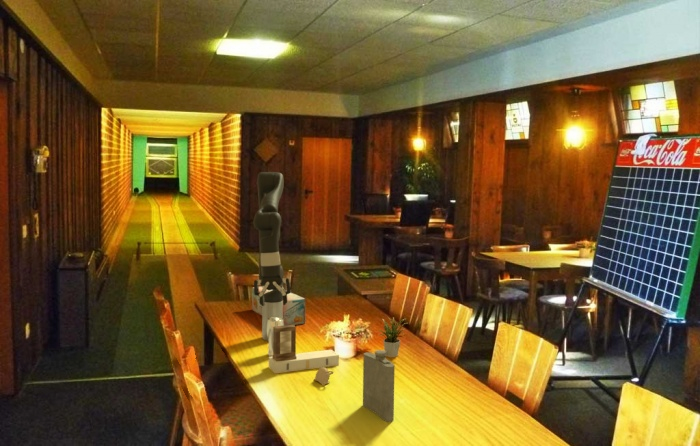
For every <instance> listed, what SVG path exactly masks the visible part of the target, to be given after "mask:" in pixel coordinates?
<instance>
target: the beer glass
mask: <svg viewBox="0 0 700 446" xmlns="http://www.w3.org/2000/svg"><path fill="white" fill-rule="evenodd" d="M274 326H284V322H283V318H281V317H271V318H268V319H267V337H268V351H267V356H269V357H272V356H273V327H274Z"/></svg>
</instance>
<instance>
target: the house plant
mask: <svg viewBox="0 0 700 446" xmlns="http://www.w3.org/2000/svg"><path fill="white" fill-rule="evenodd" d="M387 318H388V319H389V321H390V325H391V326H390V325H389V324H388V322H387V321H386V320H385V319H384V318H381V319H382V321H383V323H384V326H383V328H384V329H383V330H380V329H378V331H379V332H381V333H379V334H378V336H382V337H384V339H383V341H382V343H383V348H384V351H386V355H385V356H386V357H387V358H388V357H389V358H396V357H398V355H399V350H400V346H401V339H399V338H404V336H406V333H403V331H404V330H405V328H403V329H402V327H403V326H404V325H406V324H407V322H404V321H405V320H407V319H408V318H407V317H406V318H403V319H401V320H400V321H397V322H396V320H395V317H394V316H392V319H391V317H388V316H387ZM403 322H404V323H403ZM401 324H402V325H401ZM400 325H401V326H400Z"/></svg>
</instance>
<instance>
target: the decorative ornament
mask: <svg viewBox="0 0 700 446" xmlns="http://www.w3.org/2000/svg"><path fill="white" fill-rule="evenodd" d="M333 374H334V371H333V370H329V369H328V368H326V367H320V368H319V369H318V370H317V372H316V374H315V378H314V379H313V381H316V382H319V383H320V384H321V385H322V386H326V385H327V384H329V383H330V381H329V380H330V376H331V375H333Z"/></svg>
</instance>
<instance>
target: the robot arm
mask: <svg viewBox="0 0 700 446" xmlns="http://www.w3.org/2000/svg"><path fill="white" fill-rule="evenodd" d="M256 180H257V181H256V182H257V195H258V196H257V197H258V198H257V199H258V210H257V211H256V213H255V215H254V218H253V223H252V224H253V226H254V229H256V230H257V231H258V239H259V242H258V243H259V259H258V261H259V263H258V278H256V279H254V280H253V287H254V295H257V296H259V297H260V305H262V315H261V320H262V321H261V322H262V323H261V324H262V325H261V334H262V335H261V338H262V340H264V341H268V337H267V319H268V318H271V317H281V318H283V305H286V303H287V302H288V301H287V294H289V293H292V292H293V291H292V285H291V278H290V277H286V278H284V268H283V265H281V264H282V263H281V255H280V249H279V241H280V239H281V238H280V237H281V225H282V215H280V213H278V211H279V203H280V200H281V197H282V194H283V190H284V186H285V185H284V183H285V180H284V175H283V174H282V173H281V172H278V171H277V172H276V171H261V172H259V173H258V175H257V179H256ZM284 284H285V285H286V289H285V288H284ZM260 286H261V287H262V286H264V287H263V289H262V290H261V292H259V287H260ZM266 290H272V291H270V292H267V293H265V291H266ZM264 293H265V294H264Z"/></svg>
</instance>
